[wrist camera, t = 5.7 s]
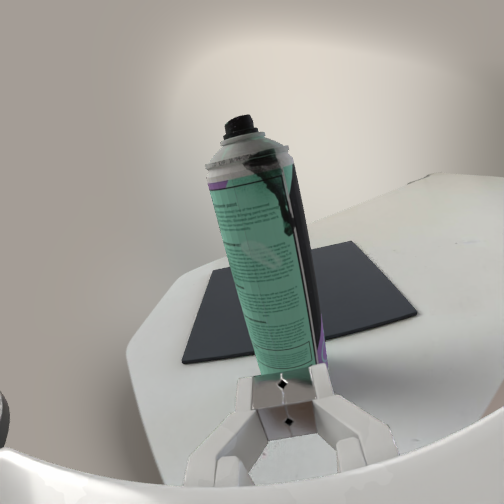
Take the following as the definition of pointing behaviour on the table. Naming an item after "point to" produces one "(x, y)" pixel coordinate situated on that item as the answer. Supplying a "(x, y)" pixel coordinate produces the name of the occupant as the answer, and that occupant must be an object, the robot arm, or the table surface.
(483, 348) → the table surface
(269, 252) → the spray can
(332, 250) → the mat
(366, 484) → the robot arm
